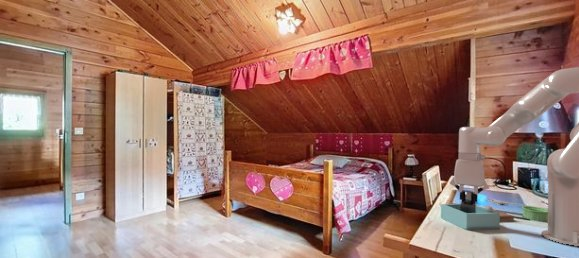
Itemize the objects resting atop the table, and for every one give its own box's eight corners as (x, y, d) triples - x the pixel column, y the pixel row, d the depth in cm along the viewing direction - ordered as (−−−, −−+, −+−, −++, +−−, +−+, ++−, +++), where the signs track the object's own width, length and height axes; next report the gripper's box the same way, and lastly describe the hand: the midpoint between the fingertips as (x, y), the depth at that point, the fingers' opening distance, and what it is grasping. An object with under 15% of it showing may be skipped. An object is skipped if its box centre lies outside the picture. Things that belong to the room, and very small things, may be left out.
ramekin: (517, 217, 120) (517, 207, 120) (529, 214, 123) (529, 205, 123) (542, 223, 112) (543, 212, 112) (554, 220, 115) (554, 210, 115)
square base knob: (475, 213, 110) (476, 191, 110) (475, 216, 106) (475, 193, 106) (461, 211, 113) (461, 189, 113) (460, 213, 109) (460, 191, 109)
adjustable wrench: (553, 212, 129) (553, 208, 129) (552, 215, 125) (552, 211, 125) (489, 201, 147) (489, 198, 147) (486, 203, 143) (486, 200, 143)
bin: (499, 228, 104) (499, 213, 104) (466, 230, 102) (466, 214, 102) (470, 217, 118) (470, 203, 118) (440, 218, 116) (440, 204, 116)
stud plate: (513, 220, 114) (513, 209, 114) (488, 221, 112) (488, 210, 112) (489, 212, 126) (489, 202, 126) (465, 212, 124) (465, 202, 124)
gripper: (494, 158, 108) (493, 204, 108) (447, 155, 118) (446, 197, 118) (494, 159, 102) (493, 208, 102) (444, 156, 112) (443, 200, 112)
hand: (468, 202), depth 110 cm, fingers closed on square base knob, 3 cm apart
